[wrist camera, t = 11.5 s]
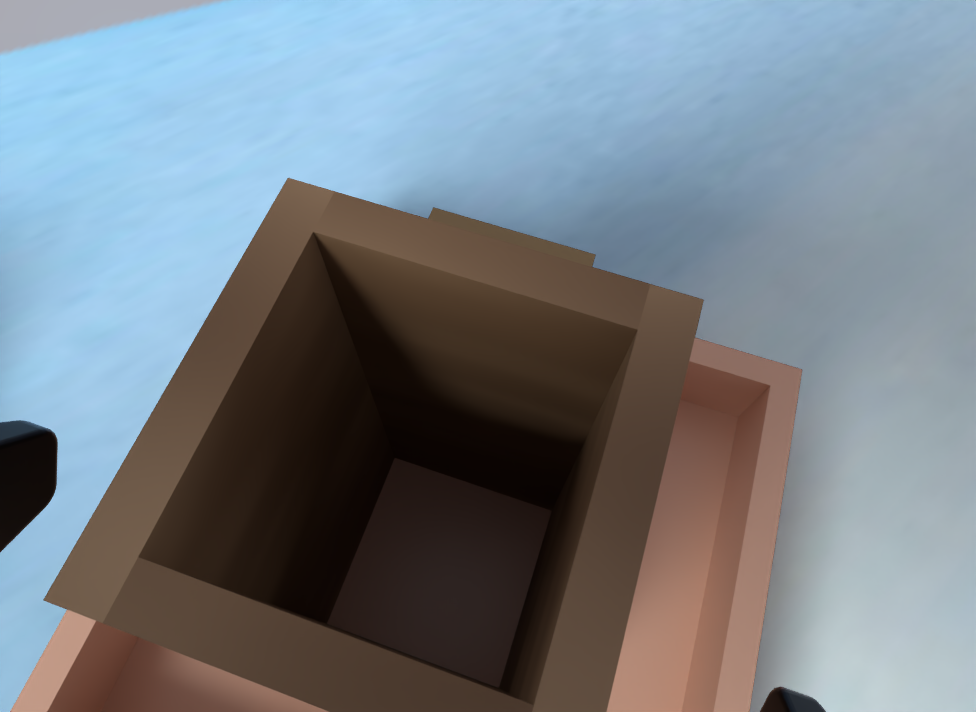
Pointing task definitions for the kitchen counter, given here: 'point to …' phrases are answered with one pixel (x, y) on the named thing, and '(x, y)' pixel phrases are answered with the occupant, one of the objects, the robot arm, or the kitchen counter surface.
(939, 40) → the kitchen counter surface
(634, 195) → the kitchen counter surface
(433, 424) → the walnut sleeve
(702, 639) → the terracotta tray
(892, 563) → the kitchen counter surface
